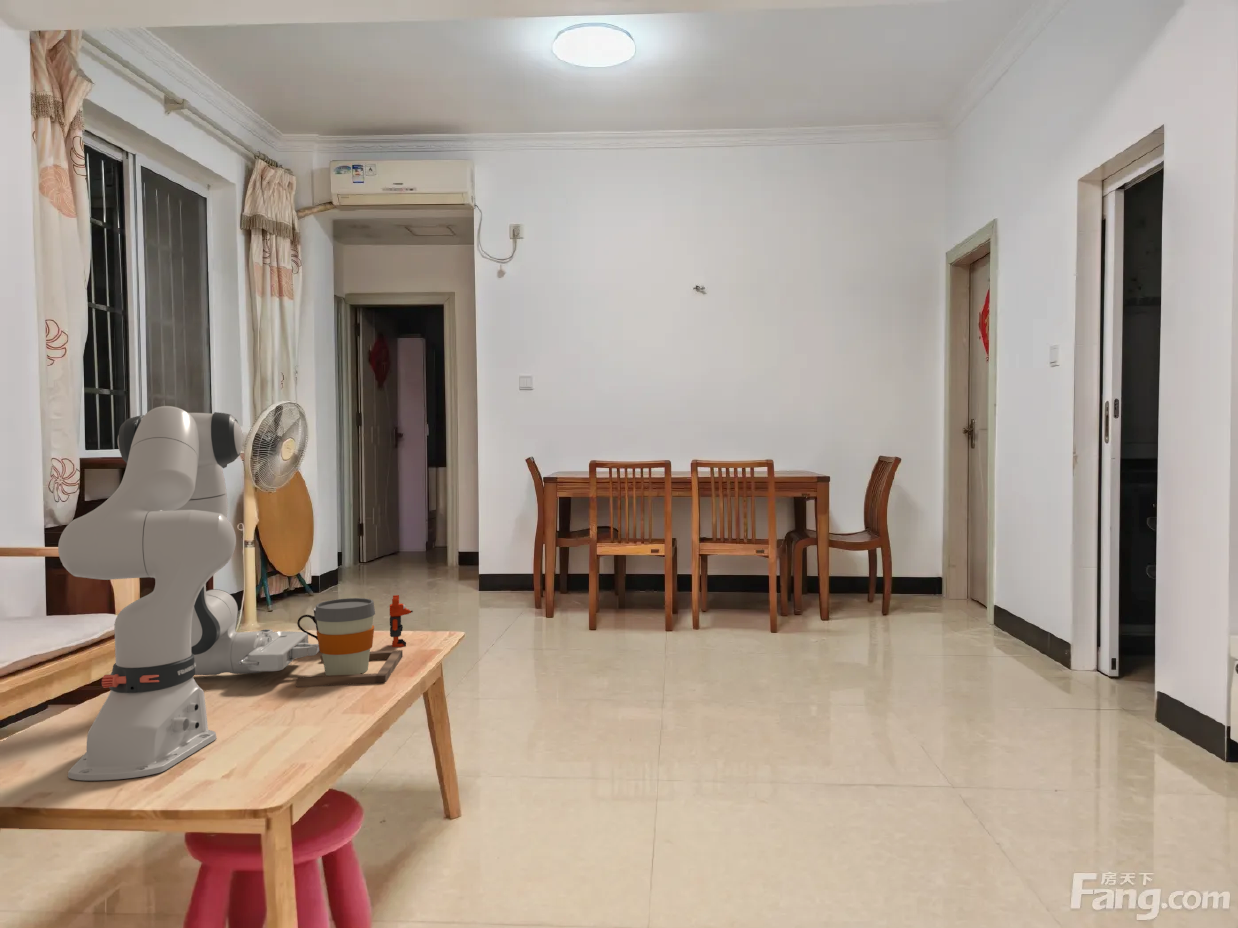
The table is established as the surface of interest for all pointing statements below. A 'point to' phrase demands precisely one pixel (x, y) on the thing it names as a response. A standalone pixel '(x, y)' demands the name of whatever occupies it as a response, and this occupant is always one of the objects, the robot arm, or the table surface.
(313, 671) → the table surface
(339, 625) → the reusable coffee cup
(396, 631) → the toy animal
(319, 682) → the walnut bay
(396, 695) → the table surface
